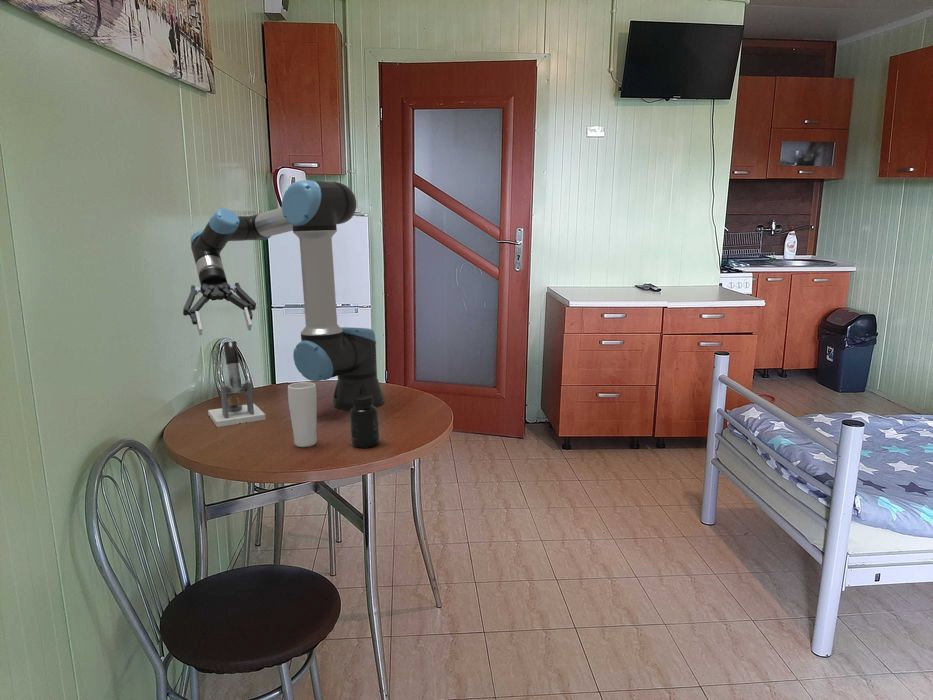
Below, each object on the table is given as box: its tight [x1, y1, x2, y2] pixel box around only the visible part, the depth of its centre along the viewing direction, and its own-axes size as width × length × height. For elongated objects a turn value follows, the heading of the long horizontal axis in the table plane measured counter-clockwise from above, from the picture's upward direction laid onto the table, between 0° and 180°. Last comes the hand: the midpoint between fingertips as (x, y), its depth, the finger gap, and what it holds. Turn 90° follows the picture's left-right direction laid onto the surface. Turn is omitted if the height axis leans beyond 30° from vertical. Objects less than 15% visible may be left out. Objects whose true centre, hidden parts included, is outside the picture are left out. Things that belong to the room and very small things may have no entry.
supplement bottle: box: [349, 395, 380, 449], centre depth 166 cm, size 7×7×12 cm
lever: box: [223, 340, 247, 395], centre depth 192 cm, size 10×5×14 cm, turn 29°
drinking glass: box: [287, 381, 318, 448], centre depth 166 cm, size 7×7×15 cm
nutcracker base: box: [207, 379, 267, 428], centre depth 192 cm, size 14×13×10 cm
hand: (225, 329), depth 195 cm, fingers open, 13 cm apart
